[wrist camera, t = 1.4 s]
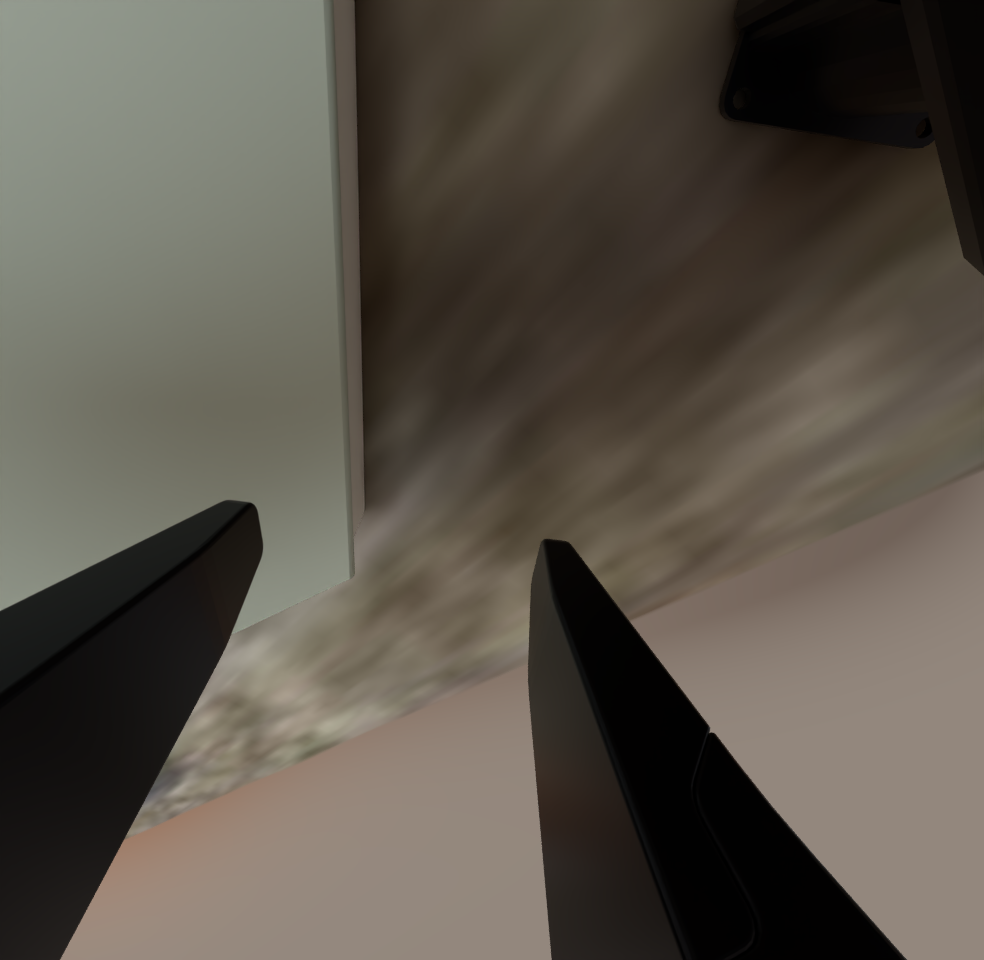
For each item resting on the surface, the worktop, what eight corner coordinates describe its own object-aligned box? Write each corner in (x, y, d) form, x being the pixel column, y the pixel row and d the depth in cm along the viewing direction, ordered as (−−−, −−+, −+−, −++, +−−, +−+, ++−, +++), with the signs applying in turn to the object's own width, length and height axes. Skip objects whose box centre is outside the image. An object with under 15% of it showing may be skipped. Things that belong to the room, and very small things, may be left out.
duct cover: (314, -163, 10) (334, -174, 9) (348, 563, 21) (358, 575, 20) (-2333, -1527, 2) (-2905, -1933, 2) (-80, 755, 13) (-79, 781, 13)
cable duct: (352, -100, 13) (296, -187, 10) (364, 510, 24) (340, 569, 21) (-131, -182, 12) (-367, -303, 9) (109, 479, 24) (43, 534, 20)
